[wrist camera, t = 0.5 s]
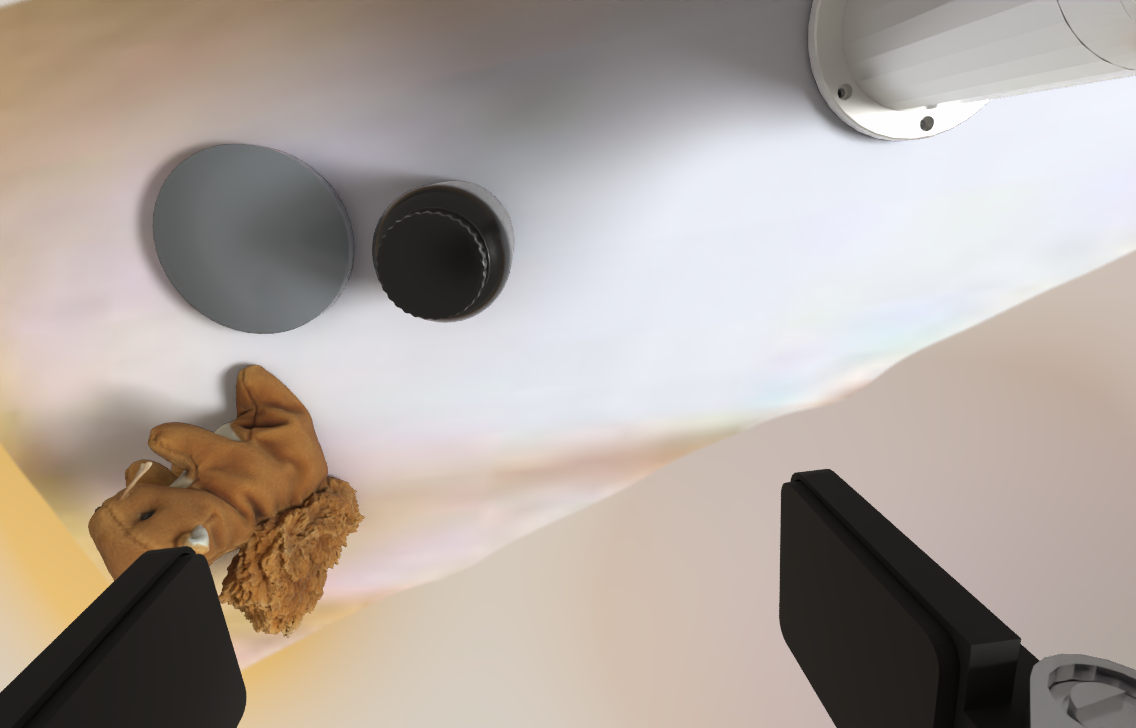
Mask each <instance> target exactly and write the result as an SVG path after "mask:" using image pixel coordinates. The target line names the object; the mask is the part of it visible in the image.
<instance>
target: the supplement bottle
mask: <svg viewBox="0 0 1136 728" xmlns="http://www.w3.org/2000/svg"><path fill="white" fill-rule="evenodd" d="M513 250H514V231H513V226H512V223H511V220H510V217H509V215H508V213H507V211H506V209H505V208H504V206H503V205H502V204H501V202H500V201H499V200H498V199H497V198H496V197H495V196H494V195H493V194H492V193H490V192H489V191H487V190H486V189H484V188H482V187H480V186H478V185H476V184H473V183H469V182H464V181H445V182H439V183H434V184H429V185H424V186H420V187H417V188H414V189H412V190H410V191H408V192H406V193H404V194H403V195H401V196H400V197H398V198H397V199H396V200H395V201H393V202H392V203H391V204H390V205H389V206H388V208H387V209H386V210H385V212H384V213H383V215H382V216H381V218H380V220H379V222H378V224H377V227H376V229H375V233H374V237H373V245H372V254H373V263H374V267H375V271H376V274H377V276H378V280H379V281H380V283H381V285H382V288H383V290H384V291H385V292H386V293H387V295H388V298H389V299H390V300H392V301H393V302H394V303H395V305H396V307H399V308H401V309H402V310H403V311H404V312H405V313H410V314H412V315H413V316H414V317H419V318H422V319H425V320H429V321H434V322H456V321H461V320H465V319H468V318H471V317H473V316H475V315H477V314H479V313H481V312H482V311H484V310H485V309H486V308H487V307H489V306H490V305H491V304H492V303H493V302H494V301H495V300H496V298H497V297H498V296H499V294H500V293H501V291H502V290H503V288H504V286H505V284H506V281H507V279H508V276H509V273H510V268H511V263H512V256H513Z"/></svg>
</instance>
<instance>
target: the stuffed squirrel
mask: <svg viewBox="0 0 1136 728" xmlns="http://www.w3.org/2000/svg"><path fill="white" fill-rule="evenodd" d="M236 403H237V419H235V420H234V421H233V422H229V423H226V424H224V425H222V426H221V427H219V428H218V429H217V430H216V431H215V432H214V433H213V432H211V431H208V430H206V429H203V428H201V427H198V426H194V425H191V424H186V423H179V422H172V423H164V424H161V425H158V426H156V427H154V428H153V429H152V430H151V432H150V437H149V439H148V445H149V447H150V448H151V449H152V451H153V452H155V453H156V454H158V455H160V456H161V457H163V458H164V459H166V460H167V461H169V462H171V463H172V470H171V471H170V470H169V469H168V468H166V467H165V466H163V465H161V464H159V463H157V462H154V461H151V460H139V461H136V462H134V463H133V464H131V466H130V467H129V468H128V469H127V470H126V471H125V479H126V486H127V488H125V489H123V490H122V491H120V492H118V493H117V494H116V495H115V496H113V497H111V498H109V499H107V500H105V501H104V502H103V504H102V506H101V507H98V508H97V509H96V510H95V513H94V515H93V516H92V517H91V519H90V521H89V526H88V528H89V533H90V535H91V537H92V539H93V541H94V543H95V545H96V547H97V549H98V551H99V552H100V554H101V556H102V558H103V560H104V563H105V565H106V567H107V569H108V571H109V573H110V574H111V576H112V577H113V579H114V581H115V580H116V579H117V578H118V577H119V576H120V575H121V574H122V573H123V572H124V571H125V570H126V569H127V568H128V567H129V566H130V565H131V564H132V563H133V562H134V561H136V560H137V559H138V558H139V557H140V556H141V555H142V554H143V553H145V552H146V551H150V550H157V549H165V548H173V547H181V546H189V547H191V548H192V549H193V550H194V551H195V552H196V554H202V555H204V556H205V557H206V559H207V561H208V564H209V566H210V565H211V564H212V563H213V562H214V561H215V560H216V559H217V558H219V557H220V556H222V555H223V554H225V553H227V552H231V551H234V550H236V549H239V548H240V551H239V553H238V554H237V555H236V556H235V557H234V558H233V559H232V562H231V564H230V565H229V566H228V568H227V570H228V575H227V576H226V577H225V578H224V580H223V582H222V585H223V588H222V592H221V595H220V596H218V598H219V600H220V602H221V603H223V604H224V603H226V602H227V601H228V604H229V605H231V604H232V605H233V606H234V608H235V609H240V611H241V612H243V611H244V612H245V617H246V619H248V620H250V623H253V628H254V630H255V631H256V632H257V633H258V632H260V630H262V631H263V632H265V634H266V633H267V634H268V633H269V634H275V635H276V634H279V632H280V631H282V633H283V636H284V637H285V636H287V637H288V638H289V636H290V634H293V633H294V632H293V630H296V629H298V627H299V626H300V623H301V621H302V620H303V616H304V615H305V613H307V612H309V613H310V614H311V611H314V607H315V606H316V604H317V600H319V599H320V597H321V596H322V595H323V587H324V584H325V581H326V578H327V569H328V568H332V569H333V566H334V563H335V564H337V565H338V564H339V563H338V559H339V558H340V552H341V550H342V548H341V546H342V545H343V546H345V547H347V543H346V540H347V538H346V536H348V535H349V533H353V532H357V530H356V529H357V528H358V527H359V525H358V523H360V522H361V521H362V519H364V518H365V516H362V515H361V514H360V513H359V509H358V506H359V505H358V504H357V500H356V496H355V493H356V492H357V491H356V490H354V489H353V488H352V487H350V485H349V483H348V482H345V481H342V480H340V479H335V478H333V477H327V474H328V467H327V463H326V461H325V458H324V454H323V452H322V449H321V446H320V444H319V442H318V439H317V436H316V433H315V430H314V426H313V422H312V418H311V416H310V414H309V412H308V410H307V409H306V408H305V406H304V405H303V404H302V403H301V402H300V401H299V400H298V398H297V397H296V396H295V395H294V394H293V393H292V392H291V391H290V390H289V389H288V388H287V387H286V386H285V385H284V384H283V383H282V382H281V381H280V380H278V379H277V378H276V377H275V376H274V375H272V374H271V373H269V372H268V371H266V370H265V369H264V368H263V367H261V366H259V365H251V366H248V367H246V368H244V369H242V370H241V371H240V372H239V374H238V377H237V385H236ZM337 558H338V559H337Z"/></svg>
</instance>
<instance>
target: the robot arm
mask: <svg viewBox="0 0 1136 728" xmlns="http://www.w3.org/2000/svg"><path fill="white" fill-rule="evenodd" d="M808 51H809V56H810V62H811V68H812V72H813V75H814V78H815V81H816V83H817V86H818V89H819V91H820V93H821V94H822V96H823V98H824V99H825V101H826V102H827V104H828V106H829V107H830V108H831V109H832V110H833V112H834V113H835V114H836V115H837V116H838V117H839V118H840V119H841V120H842V121H843V122H845V123H846V124H848V125H849V126H851V127H852V128H854V129H855V130H857V131H858V132H861V133H863V134H866V135H869V136H871V137H874V138H877V139H884V140H892V141H901V140H915V139H922V138H928V137H932V136H934V135H937V134H940V133H942V132H945V131H948V130H950V129H952V128H954V127H955V126H957V125H959V124H961V123H962V122H964V121H966V120H967V119H969V118H970V117H971V116H973V115H974V114H975V113H976V112H977V111H979V110H980V109H981V108H982V107H983V106H984V105H986V104H987V103H988V101H989V100H991V99H997V98H1003V97H1009V96H1015V95H1021V94H1027V93H1033V92H1039V91H1045V90H1052V89H1058V88H1064V87H1070V86H1076V85H1082V84H1088V83H1094V82H1100V81H1106V80H1112V79H1118V78H1124V77H1130V76H1136V0H813V3H812V8H811V14H810V20H809V26H808ZM838 89H839V90H840V91H841V96H840V98H839V97H838ZM920 122H921V127H920ZM780 537H781V538H780V539H781V540H780V603H779V607H780V608H779V619H780V626H781V631H782V634H783V637H784V639H785V641H786V643H787V645H788V647H789V648H790V650H791V652H792V653H793V655H794V657H795V658H796V660H797V662H798V663H799V665H800V667H801V669H802V670H803V672H804V674H805V675H806V677H807V679H808V680H809V682H810V684H811V685H812V687H813V689H814V690H815V692H816V694H817V695H818V697H819V699H820V701H821V702H822V704H823V706H824V707H825V709H826V711H827V712H828V714H829V716H830V717H831V719H832V721H833V722H834V724H835V726H836V727H837V728H1136V670H1134V669H1132V668H1129V667H1126V666H1124V665H1121V664H1118V663H1115V662H1112V661H1110V660H1106V659H1101V658H1097V657H1092V656H1087V655H1081V654H1058V655H1054V656H1050V657H1045V658H1043V659H1042V660H1041V661H1039V660H1038V659H1037V658H1036V657H1035V656H1034V655H1032V654H1031V653H1030V652H1029V651H1028V650H1027V649H1026V648H1025V647H1024V646H1022V645H1021V644H1020V642H1021V638H1020V637H1019V636H1018V635H1017V634H1015V633H1014V632H1013V631H1012V630H1011V629H1010V628H1009V627H1008V626H1006V625H1005V624H1004V623H1003V622H1002V621H1001V620H1000V619H998V618H997V617H996V616H995V615H994V614H993V613H992V612H991V611H990V610H988V609H987V608H986V607H985V606H984V605H983V604H982V603H981V602H979V601H978V600H977V599H976V598H975V597H974V596H973V595H972V594H971V593H969V592H968V591H967V590H966V589H965V588H964V587H963V586H961V585H960V584H959V583H958V582H957V581H956V580H955V579H954V578H953V577H951V576H950V575H949V574H948V573H947V572H946V571H945V570H944V569H942V568H941V567H940V566H939V565H938V564H937V563H936V562H935V561H933V560H932V559H931V558H930V557H929V556H928V555H927V554H926V553H925V552H923V551H922V550H921V549H920V548H919V547H918V546H917V545H915V544H914V543H913V542H912V541H911V540H910V539H909V538H908V537H906V536H905V535H904V534H903V533H902V532H901V531H900V530H899V529H898V528H896V527H895V526H894V525H893V524H892V523H891V522H890V521H889V520H887V519H886V518H885V517H884V516H883V515H882V514H881V513H880V512H878V511H877V510H876V509H875V508H874V507H873V506H872V505H871V504H869V503H868V502H867V501H866V500H865V499H864V498H863V497H862V496H861V495H859V494H858V493H857V492H856V491H855V490H854V489H853V488H852V487H850V486H849V485H848V484H847V483H846V482H845V481H843V479H841V478H840V477H839V476H838V475H837V474H836V473H835V472H834V471H832V470H830V469H822V470H814V471H806V472H797V473H794V474H793V475H792V478H791V482H788V483H784V484H783V486H782V490H781V536H780ZM245 706H246V689H245V685H244V682H243V679H242V675H241V672H240V668H239V665H238V662H237V658H236V655H235V652H234V648H233V645H232V641H231V638H230V635H229V631H228V628H227V625H226V621H225V618H224V615H223V611H222V608H221V605H220V601H219V598H218V594H217V591H216V588H215V584H214V581H213V578H212V574H211V571H210V568H209V564H208V561H207V559H206V557H205V556H204V555H202V554H196V552H195V551H194V550H193V549H192V548H191V547H189V546H181V547H173V548H165V549H157V550H150V551H146V552H145V553H143V554H142V555H141V556H140V557H139V558H138V559H137V560H136V561H134V562H133V563H132V564H131V565H130V566H129V567H128V568H127V569H126V570H125V571H124V572H123V573H122V574H121V575H120V576H119V577H118V578H117V579H116V580H115V581H114V582H113V583H112V584H111V585H110V586H109V587H108V588H107V589H106V590H105V591H104V592H103V593H102V594H101V595H100V596H99V597H98V598H97V599H96V600H95V601H94V602H93V603H92V604H91V605H90V606H89V607H88V608H86V609H85V611H83V612H82V613H81V614H80V615H79V616H78V617H77V618H76V619H75V620H74V621H73V622H72V623H71V624H70V625H69V626H68V627H67V628H66V629H65V630H64V631H63V632H62V633H61V634H60V635H59V636H58V637H57V638H56V639H55V640H54V641H53V642H52V643H51V644H50V645H49V646H48V647H47V648H46V649H45V650H44V651H43V652H42V653H41V654H40V655H38V656H37V657H36V658H35V659H34V660H33V661H32V662H31V663H30V664H29V665H28V666H27V667H26V668H25V669H24V670H23V671H22V672H21V673H20V674H19V675H18V676H17V677H16V678H15V679H14V680H13V681H12V682H11V683H10V684H9V685H8V686H7V687H6V688H5V689H4V690H3V691H2V692H1V693H0V728H237V726H238V724H239V722H240V720H241V718H242V716H243V713H244V710H245Z"/></svg>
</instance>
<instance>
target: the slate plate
mask: <svg viewBox="0 0 1136 728" xmlns="http://www.w3.org/2000/svg"><path fill="white" fill-rule="evenodd" d="M153 234H154V242H155V247H156V251H157V254H158V257H159V260H160V263H161V265H162V267H163V269H164V271H165V273H166V275H167V277H168V278H169V280H170V281H171V283H172V284H173V286H174V287H175V288H176V290H177V291H178V292H179V293H180V295H181V296H182V297H183V298H184V299H185V300H186V301H187V302H188V303H189V304H190V305H191V306H193V307H194V308H195V309H196V310H198V311H199V312H200V313H201V314H203V315H205V316H206V317H208V318H210V319H211V320H213V321H215V322H217V323H219V324H221V325H223V326H226V327H229V328H232V329H235V330H238V331H243V332H247V333H257V334H273V333H279V332H285V331H288V330H292V329H295V328H297V327H300V326H302V325H304V324H306V323H308V322H309V321H311V320H313V319H314V318H316V317H317V316H319V315H320V314H322V313H323V312H325V311H326V310H327V309H328V308H329V307H330V306H332V304H333V303H334V302H335V301H336V300H337V299H338V298H339V296H340V295H341V293H342V291H343V290H344V288H345V286H346V284H347V282H348V280H349V277H350V274H351V270H352V266H353V260H354V239H353V232H352V228H351V224H350V220H349V218H348V215H347V213H346V210H345V208H344V206H343V204H342V202H341V200H340V199H339V197H338V196H337V194H336V193H335V191H334V190H333V188H332V187H331V186H330V185H329V184H328V182H327V181H326V180H325V179H324V178H323V177H322V176H321V175H320V174H319V173H317V172H316V171H315V170H314V169H313V168H312V167H310V166H309V165H307V164H306V163H304V162H303V161H301V160H299V159H298V158H296V157H294V156H292V155H290V154H287V153H285V152H282V151H280V150H277V149H273V148H269V147H264V146H255V145H247V144H226V145H219V146H214V147H211V148H207V149H204V150H202V151H200V152H198V153H195V154H193V155H192V156H190V157H189V158H187V159H186V160H184V161H183V162H182V163H180V164H179V165H178V166H177V167H176V168H175V169H174V170H173V171H172V173H171V174H170V175H169V176H168V178H167V179H166V181H165V182H164V184H163V186H162V188H161V190H160V192H159V195H158V198H157V200H156V204H155V209H154V215H153Z"/></svg>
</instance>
